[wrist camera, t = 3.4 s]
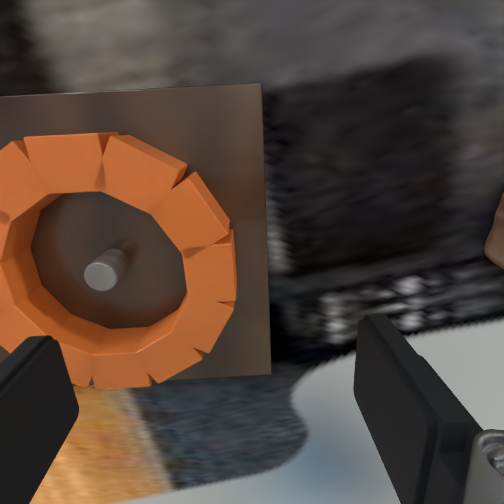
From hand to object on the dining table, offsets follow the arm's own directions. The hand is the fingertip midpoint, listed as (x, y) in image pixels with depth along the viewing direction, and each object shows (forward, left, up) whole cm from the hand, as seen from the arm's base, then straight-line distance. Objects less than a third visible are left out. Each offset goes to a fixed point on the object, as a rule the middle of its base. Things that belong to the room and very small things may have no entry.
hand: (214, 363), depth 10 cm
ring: (+6, 0, -7) cm, 10 cm away
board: (+6, 0, -9) cm, 11 cm away
